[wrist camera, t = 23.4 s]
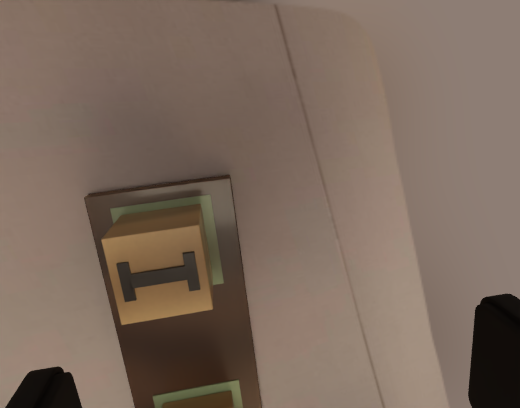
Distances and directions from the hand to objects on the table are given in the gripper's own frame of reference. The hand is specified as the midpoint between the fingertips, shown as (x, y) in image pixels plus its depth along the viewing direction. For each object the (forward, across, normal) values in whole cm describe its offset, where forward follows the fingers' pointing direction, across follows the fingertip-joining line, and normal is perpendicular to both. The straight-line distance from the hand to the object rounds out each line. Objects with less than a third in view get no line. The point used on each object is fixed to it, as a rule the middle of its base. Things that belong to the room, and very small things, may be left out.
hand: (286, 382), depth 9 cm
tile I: (+16, +5, +3) cm, 17 cm away
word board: (+17, +5, +10) cm, 20 cm away
